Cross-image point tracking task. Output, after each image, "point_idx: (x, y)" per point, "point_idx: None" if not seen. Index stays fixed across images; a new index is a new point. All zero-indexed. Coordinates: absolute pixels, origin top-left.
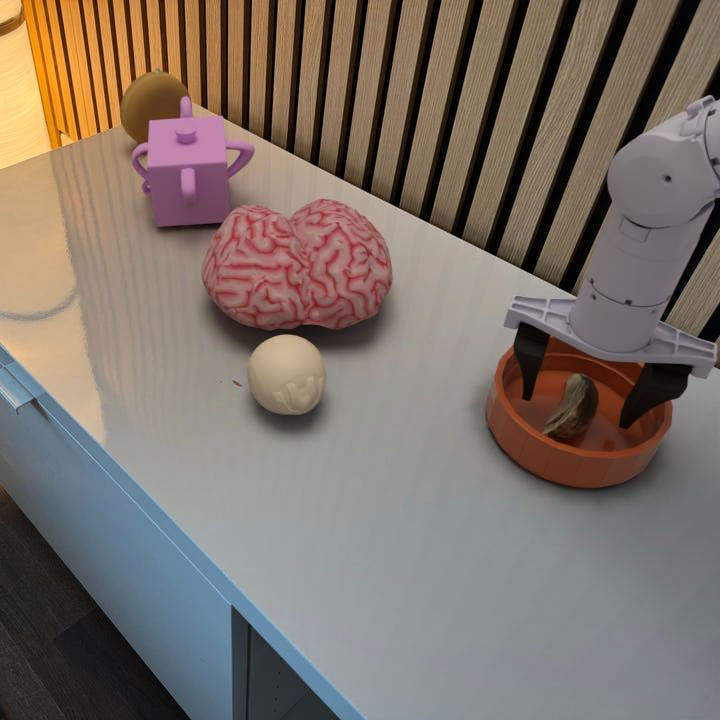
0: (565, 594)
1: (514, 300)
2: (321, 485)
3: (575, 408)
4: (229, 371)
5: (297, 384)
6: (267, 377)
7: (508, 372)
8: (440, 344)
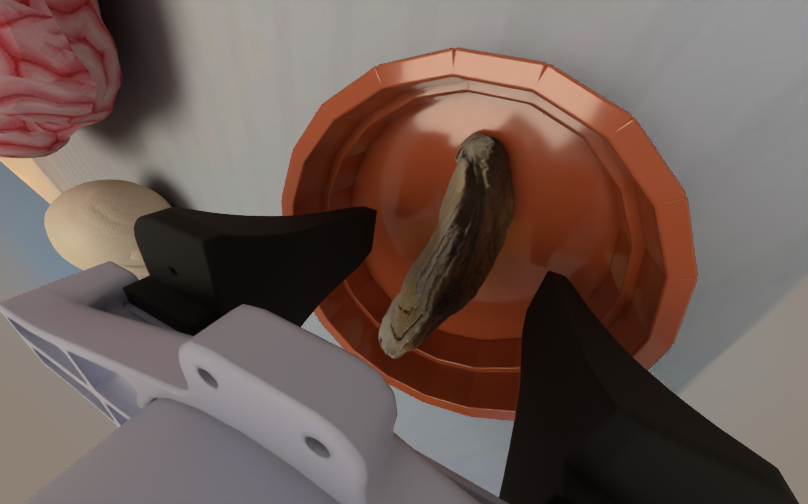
0: (435, 425)
1: (22, 336)
2: None
3: (408, 341)
4: (115, 177)
5: None
6: None
7: (331, 181)
8: (253, 55)
